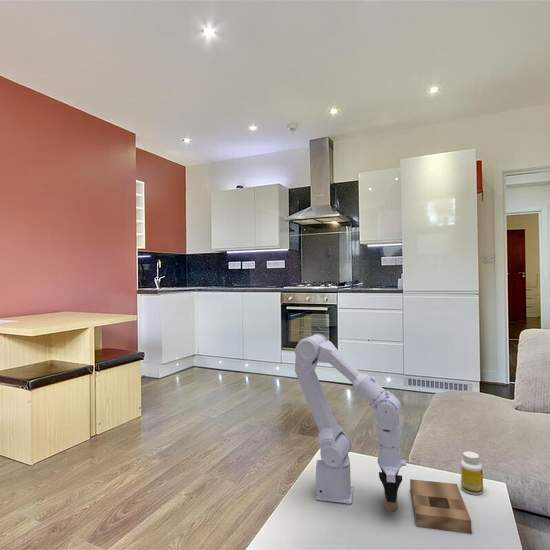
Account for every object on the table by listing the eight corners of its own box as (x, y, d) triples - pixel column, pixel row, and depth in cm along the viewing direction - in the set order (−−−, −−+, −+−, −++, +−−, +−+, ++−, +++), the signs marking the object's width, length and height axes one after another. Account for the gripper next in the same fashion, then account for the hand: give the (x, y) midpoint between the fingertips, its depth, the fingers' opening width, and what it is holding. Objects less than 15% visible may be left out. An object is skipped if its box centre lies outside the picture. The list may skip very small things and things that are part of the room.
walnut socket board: (416, 526, 91) (415, 513, 91) (410, 490, 106) (410, 479, 106) (471, 533, 88) (471, 520, 88) (457, 495, 103) (456, 483, 103)
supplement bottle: (486, 496, 102) (484, 459, 102) (464, 494, 103) (463, 458, 103) (479, 485, 107) (478, 450, 107) (458, 484, 108) (457, 449, 109)
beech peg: (384, 510, 97) (383, 475, 97) (384, 503, 100) (383, 468, 100) (398, 512, 96) (396, 476, 96) (397, 504, 99) (396, 470, 99)
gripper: (407, 457, 90) (409, 515, 90) (403, 433, 104) (405, 483, 104) (377, 454, 92) (378, 511, 92) (376, 431, 106) (378, 480, 106)
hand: (390, 496), depth 98 cm, fingers open, 4 cm apart
